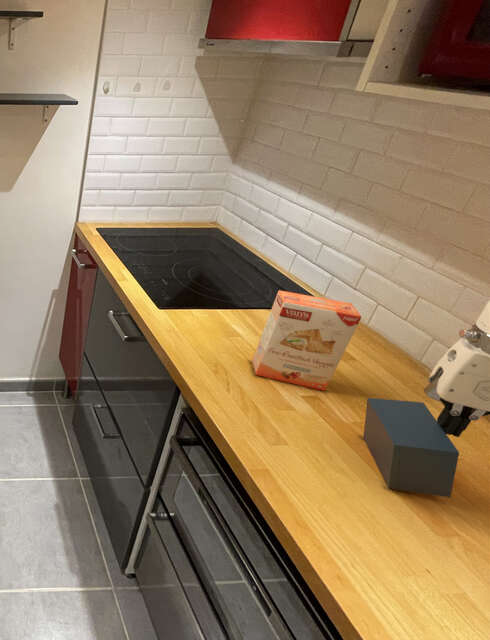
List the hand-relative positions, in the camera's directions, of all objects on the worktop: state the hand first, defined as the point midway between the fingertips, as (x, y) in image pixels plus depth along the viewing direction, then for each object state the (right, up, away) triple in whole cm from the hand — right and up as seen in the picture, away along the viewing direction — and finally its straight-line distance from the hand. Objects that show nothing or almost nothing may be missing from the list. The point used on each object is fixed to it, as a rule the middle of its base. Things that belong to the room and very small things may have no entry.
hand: (447, 429), depth 77 cm
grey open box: (-2, -9, +5) cm, 11 cm away
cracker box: (-7, 0, +28) cm, 29 cm away
